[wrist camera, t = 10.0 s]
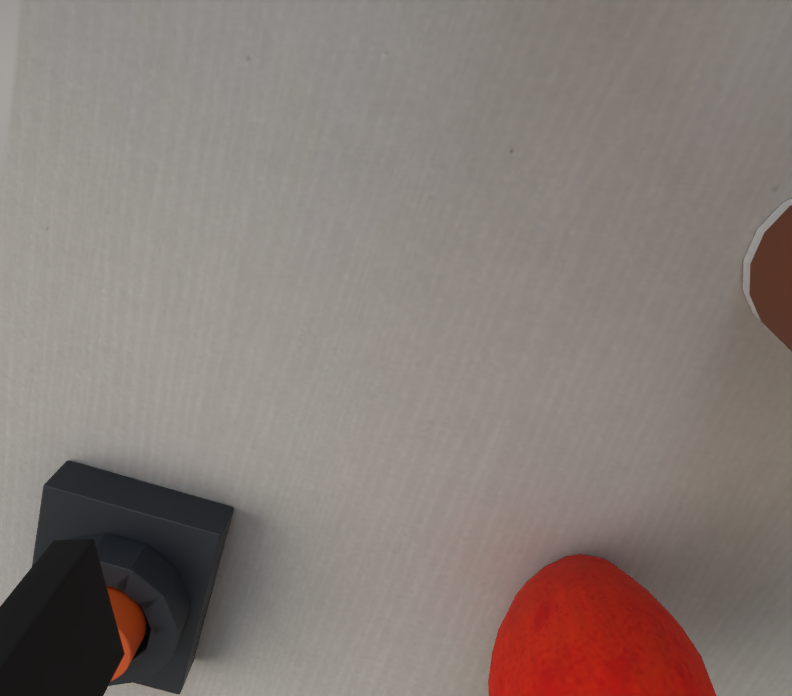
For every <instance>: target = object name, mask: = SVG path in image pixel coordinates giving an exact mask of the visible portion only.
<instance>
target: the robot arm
mask: <svg viewBox="0 0 792 696" xmlns="http://www.w3.org/2000/svg"><path fill="white" fill-rule="evenodd" d="M124 655H125V653H124V649H123V646H122V642H121V638H120V635H119V631H118V627H117V623H116V620H115V616H114V612H113V609H112V605H111V601H110V597H109V594H108V590H107V586H106V583H105V579H104V575H103V572H102V568H101V564H100V560H99V557H98V553H97V549H96V546H95V542H94V539H78V540H54V541H53V542H52V543H51V544H50V546H49V547H48V548H47V549H46V551H45V552H44V553H43V554H42V555H41V557H40V558H39V559H38V560H37V562H36V563H35V564H34V565H33V567H32V568H31V569H30V570H29V572H28V573H27V574H26V575H25V577H24V578H23V579H22V580H21V582H20V583H19V584H18V585H17V587H16V588H15V589H14V590H13V592H12V593H11V594H10V595H9V597H8V598H7V599H6V600H5V602H4V603H3V604H2V605H1V607H0V696H103V695H104V693H105V691H106V689H107V687H108V685H109V683H110V681H111V679H112V678H113V676H114V674H115V672H116V670H117V668H118V666H119V664H120V662H121V660H122V658H123V656H124Z"/></svg>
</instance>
